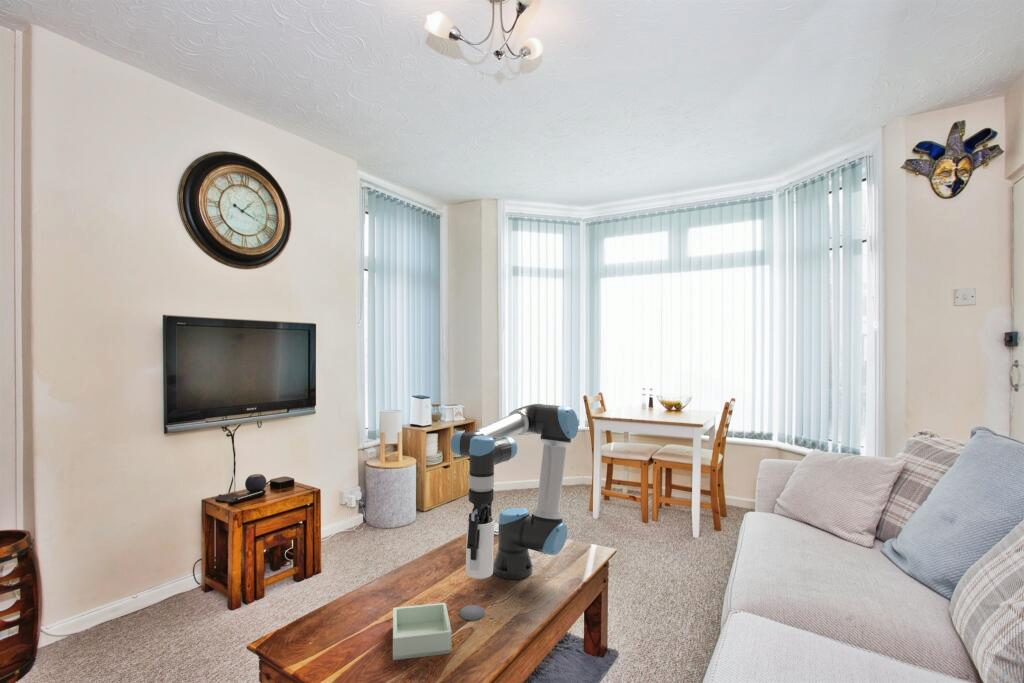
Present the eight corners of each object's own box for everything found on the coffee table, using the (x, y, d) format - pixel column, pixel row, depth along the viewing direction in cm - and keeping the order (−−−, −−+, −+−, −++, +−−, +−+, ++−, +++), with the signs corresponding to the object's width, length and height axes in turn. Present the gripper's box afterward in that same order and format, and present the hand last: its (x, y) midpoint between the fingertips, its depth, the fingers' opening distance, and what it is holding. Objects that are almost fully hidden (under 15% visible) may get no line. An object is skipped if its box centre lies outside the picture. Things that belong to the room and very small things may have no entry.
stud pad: (482, 605, 165) (482, 604, 165) (486, 618, 157) (486, 617, 157) (458, 608, 163) (458, 606, 163) (461, 621, 155) (461, 619, 155)
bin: (445, 621, 155) (445, 602, 155) (451, 653, 139) (451, 631, 140) (392, 627, 151) (393, 607, 151) (392, 660, 136) (393, 638, 136)
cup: (496, 568, 152) (497, 516, 152) (488, 580, 144) (489, 525, 144) (471, 564, 155) (472, 513, 154) (461, 576, 147) (462, 522, 147)
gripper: (481, 477, 161) (479, 547, 161) (456, 497, 140) (454, 577, 140) (503, 480, 158) (501, 551, 158) (481, 500, 138) (479, 581, 138)
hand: (479, 563), depth 149 cm, fingers closed on cup, 8 cm apart
